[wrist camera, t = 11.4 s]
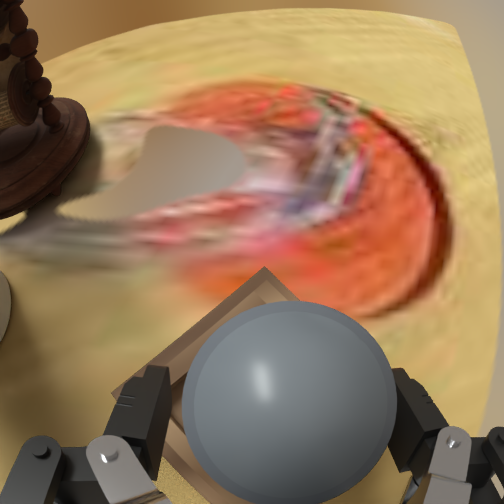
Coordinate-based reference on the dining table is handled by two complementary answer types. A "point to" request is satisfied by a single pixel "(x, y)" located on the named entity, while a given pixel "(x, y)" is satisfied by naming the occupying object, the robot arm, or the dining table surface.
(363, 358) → the blue-grey dome-topped cylinder
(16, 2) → the scroll
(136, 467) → the robot arm
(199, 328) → the walnut socket
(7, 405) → the dining table surface
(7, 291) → the travel mug
